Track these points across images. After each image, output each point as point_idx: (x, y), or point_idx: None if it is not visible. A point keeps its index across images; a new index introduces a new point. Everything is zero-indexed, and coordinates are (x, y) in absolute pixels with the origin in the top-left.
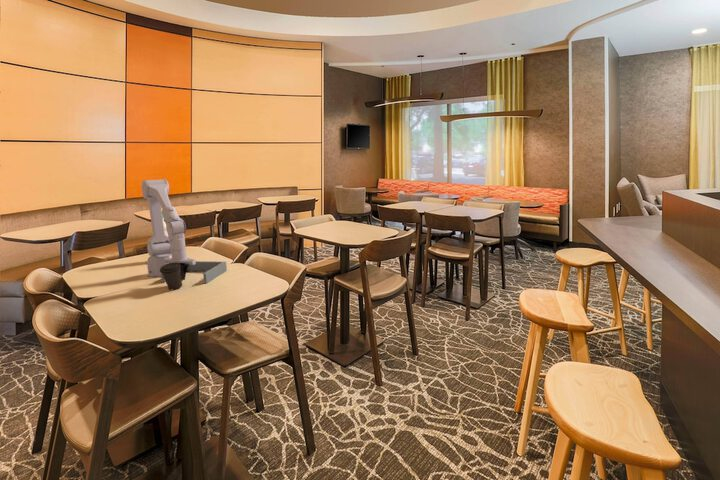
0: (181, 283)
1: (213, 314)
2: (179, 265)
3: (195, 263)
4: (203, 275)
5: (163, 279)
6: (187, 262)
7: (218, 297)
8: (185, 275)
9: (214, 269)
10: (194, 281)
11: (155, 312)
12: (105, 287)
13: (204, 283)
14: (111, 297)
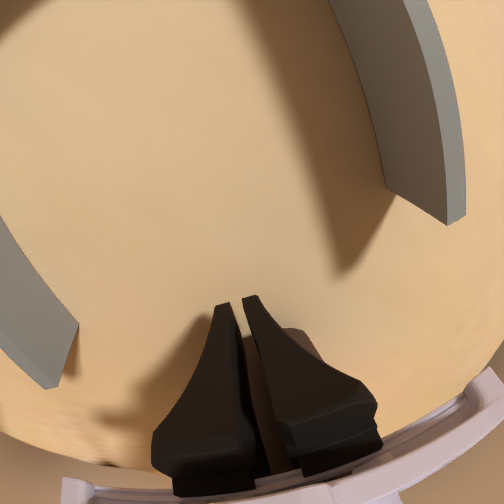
0: (315, 350)
1: (495, 347)
2: None
3: (490, 375)
4: (434, 216)
5: (68, 344)
6: (414, 447)
7: (498, 289)
8: (270, 315)
9: (420, 8)
10: (260, 180)
11: (384, 423)
12: (16, 419)
13: (390, 187)
14: (147, 458)
